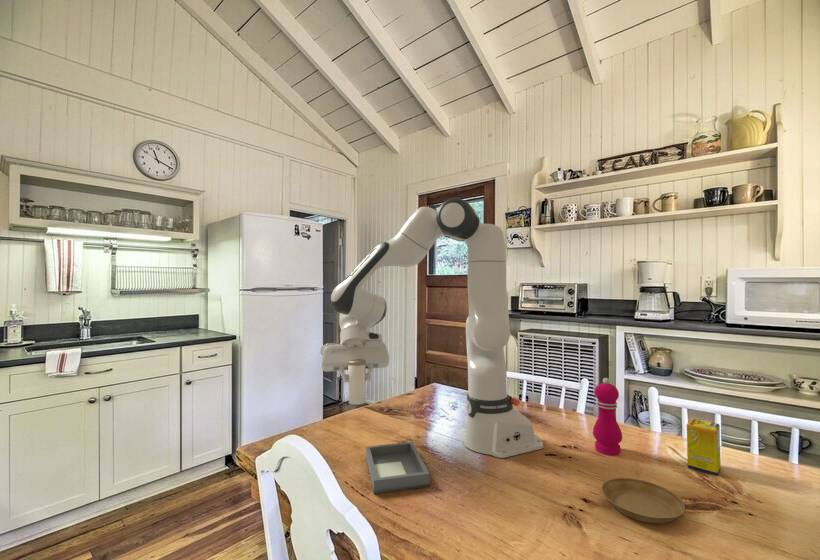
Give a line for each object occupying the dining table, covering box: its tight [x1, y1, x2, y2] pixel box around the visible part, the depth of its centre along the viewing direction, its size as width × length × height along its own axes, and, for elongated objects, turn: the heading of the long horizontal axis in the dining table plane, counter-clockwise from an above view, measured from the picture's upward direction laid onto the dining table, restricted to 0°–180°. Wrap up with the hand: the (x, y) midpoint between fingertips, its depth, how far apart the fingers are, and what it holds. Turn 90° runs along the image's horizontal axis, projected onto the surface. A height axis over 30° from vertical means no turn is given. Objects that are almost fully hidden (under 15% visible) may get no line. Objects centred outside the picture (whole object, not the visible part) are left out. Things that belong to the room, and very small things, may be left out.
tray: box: [365, 441, 431, 495], centre depth 95 cm, size 13×18×3 cm
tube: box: [347, 359, 367, 406], centre depth 111 cm, size 5×5×12 cm
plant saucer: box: [600, 477, 686, 525], centre depth 78 cm, size 15×15×3 cm
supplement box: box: [686, 418, 722, 477], centre depth 94 cm, size 6×6×11 cm
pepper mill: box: [592, 377, 623, 456], centre depth 104 cm, size 7×7×20 cm
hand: (357, 380), depth 110 cm, fingers closed on tube, 5 cm apart
